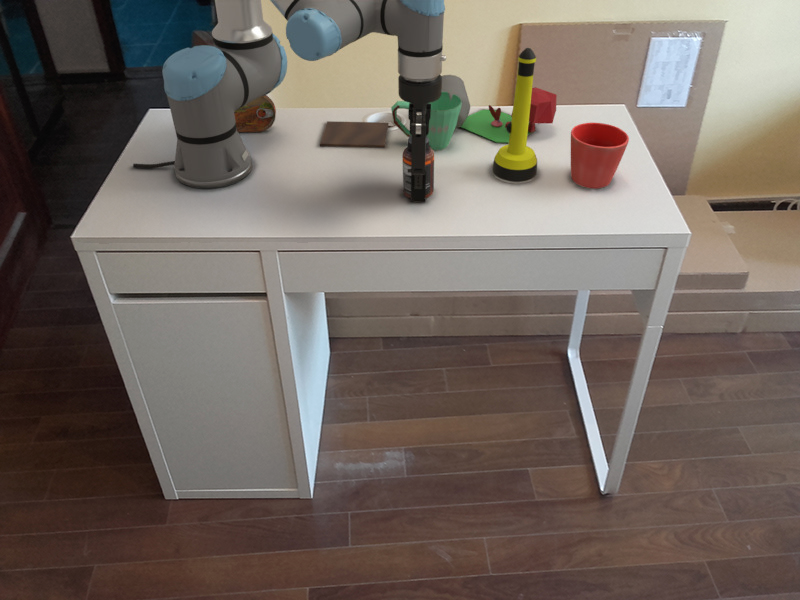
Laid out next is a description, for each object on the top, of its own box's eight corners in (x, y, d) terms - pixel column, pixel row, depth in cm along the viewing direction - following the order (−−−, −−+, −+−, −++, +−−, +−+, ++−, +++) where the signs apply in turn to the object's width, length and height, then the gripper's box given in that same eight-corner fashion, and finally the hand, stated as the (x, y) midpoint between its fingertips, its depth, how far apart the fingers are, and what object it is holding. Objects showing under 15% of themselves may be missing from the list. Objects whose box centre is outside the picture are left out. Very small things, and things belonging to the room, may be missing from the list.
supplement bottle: (422, 182, 136) (423, 129, 129) (439, 195, 132) (441, 141, 125) (397, 190, 133) (396, 136, 126) (413, 204, 130) (413, 149, 122)
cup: (426, 110, 146) (425, 73, 150) (429, 137, 155) (427, 101, 159) (471, 107, 146) (468, 70, 150) (471, 133, 154) (468, 98, 158)
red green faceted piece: (523, 153, 144) (528, 113, 139) (452, 124, 155) (454, 85, 150) (564, 131, 153) (570, 93, 147) (494, 104, 164) (498, 67, 158)
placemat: (320, 146, 148) (319, 143, 148) (327, 123, 156) (327, 121, 156) (384, 147, 147) (384, 145, 147) (388, 125, 156) (388, 122, 155)
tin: (209, 133, 153) (202, 97, 148) (212, 127, 156) (205, 91, 150) (277, 131, 154) (272, 95, 148) (278, 125, 156) (274, 89, 151)
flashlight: (554, 41, 125) (505, 38, 127) (552, 59, 119) (500, 55, 120) (537, 163, 141) (494, 159, 143) (535, 185, 135) (489, 181, 136)
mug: (459, 135, 152) (462, 91, 145) (459, 156, 144) (461, 111, 138) (393, 133, 153) (393, 90, 146) (389, 154, 145) (388, 109, 139)
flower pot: (603, 163, 141) (612, 119, 135) (628, 190, 133) (639, 144, 127) (555, 168, 140) (562, 124, 133) (577, 196, 131) (585, 150, 125)
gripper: (441, 97, 110) (437, 219, 125) (442, 54, 125) (439, 168, 140) (394, 96, 111) (396, 218, 125) (401, 54, 125) (402, 167, 140)
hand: (419, 191), depth 132 cm, fingers closed on supplement bottle, 6 cm apart
